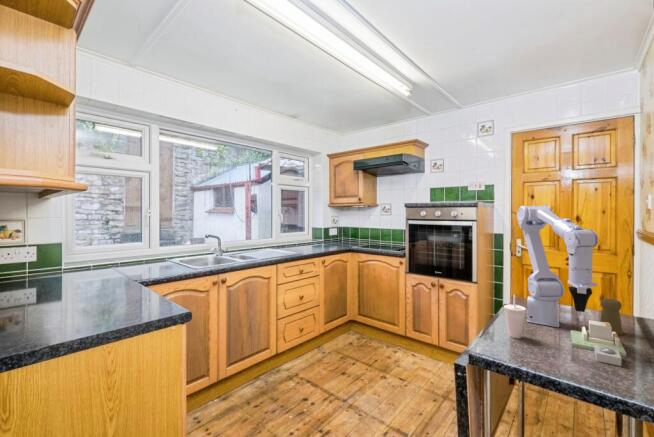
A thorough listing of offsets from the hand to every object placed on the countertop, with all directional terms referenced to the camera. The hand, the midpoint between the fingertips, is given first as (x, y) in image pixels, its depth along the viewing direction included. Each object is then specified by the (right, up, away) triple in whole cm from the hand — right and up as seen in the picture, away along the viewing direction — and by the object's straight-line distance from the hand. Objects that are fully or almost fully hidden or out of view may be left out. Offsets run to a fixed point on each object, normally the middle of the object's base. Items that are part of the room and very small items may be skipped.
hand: (579, 310), depth 96 cm
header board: (+4, -10, -1) cm, 11 cm away
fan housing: (-1, -10, -11) cm, 15 cm away
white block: (+6, -9, 0) cm, 11 cm away
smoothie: (-17, -10, +6) cm, 21 cm away
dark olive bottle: (+17, -10, +8) cm, 21 cm away
